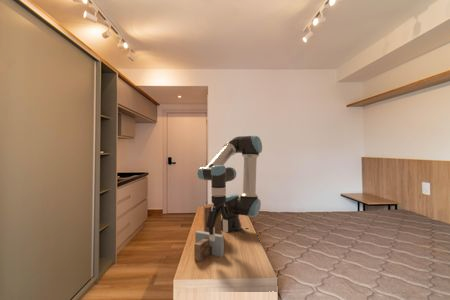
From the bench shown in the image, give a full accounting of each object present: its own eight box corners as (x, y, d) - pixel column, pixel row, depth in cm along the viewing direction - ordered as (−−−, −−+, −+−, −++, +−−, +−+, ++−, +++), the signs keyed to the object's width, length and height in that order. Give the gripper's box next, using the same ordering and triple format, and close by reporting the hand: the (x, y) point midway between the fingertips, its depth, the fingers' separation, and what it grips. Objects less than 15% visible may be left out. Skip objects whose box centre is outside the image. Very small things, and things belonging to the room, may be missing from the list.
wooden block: (221, 240, 139) (221, 207, 140) (204, 241, 138) (204, 207, 138) (218, 234, 149) (218, 203, 149) (203, 235, 148) (203, 204, 148)
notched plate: (198, 248, 127) (198, 230, 127) (223, 254, 119) (223, 235, 120) (195, 250, 124) (195, 232, 125) (221, 256, 117) (221, 237, 117)
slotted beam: (217, 244, 132) (217, 230, 132) (221, 245, 131) (221, 231, 131) (194, 260, 113) (194, 244, 113) (199, 261, 112) (199, 245, 112)
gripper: (224, 190, 132) (224, 227, 132) (198, 199, 110) (199, 243, 110) (235, 191, 129) (236, 229, 129) (212, 200, 107) (212, 246, 107)
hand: (219, 236), depth 119 cm, fingers open, 13 cm apart
